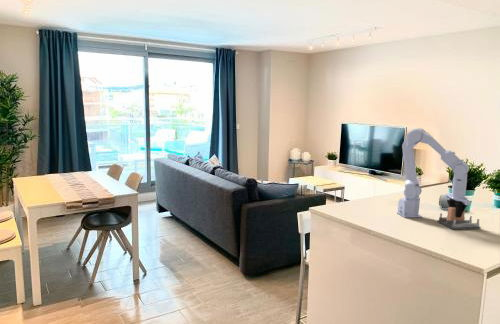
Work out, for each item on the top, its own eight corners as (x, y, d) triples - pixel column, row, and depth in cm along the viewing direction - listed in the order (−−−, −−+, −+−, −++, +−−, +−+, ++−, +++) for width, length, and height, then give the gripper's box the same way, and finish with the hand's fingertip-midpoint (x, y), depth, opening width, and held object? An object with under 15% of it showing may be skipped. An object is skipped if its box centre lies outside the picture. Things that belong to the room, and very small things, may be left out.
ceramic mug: (440, 205, 214) (442, 192, 213) (457, 208, 209) (458, 194, 208) (436, 209, 206) (437, 195, 205) (452, 212, 201) (454, 198, 200)
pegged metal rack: (452, 229, 171) (454, 220, 171) (437, 222, 182) (438, 213, 182) (480, 229, 174) (481, 219, 173) (463, 221, 184) (464, 212, 184)
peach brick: (450, 222, 178) (451, 208, 177) (446, 221, 181) (448, 207, 180) (463, 222, 179) (465, 208, 178) (460, 221, 182) (461, 206, 181)
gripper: (478, 191, 171) (474, 220, 173) (456, 184, 185) (453, 211, 187) (464, 191, 170) (460, 220, 172) (443, 184, 184) (440, 211, 186)
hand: (455, 216), depth 180 cm, fingers open, 3 cm apart
